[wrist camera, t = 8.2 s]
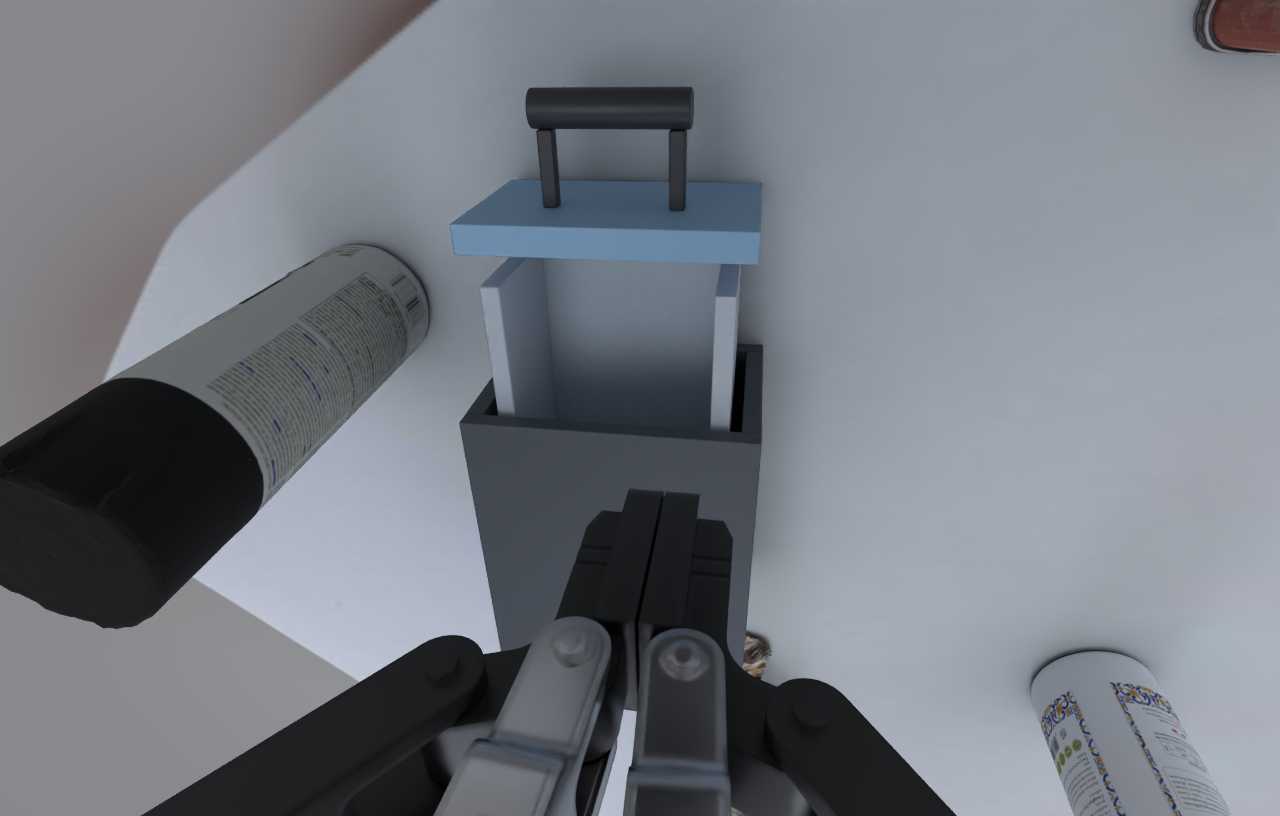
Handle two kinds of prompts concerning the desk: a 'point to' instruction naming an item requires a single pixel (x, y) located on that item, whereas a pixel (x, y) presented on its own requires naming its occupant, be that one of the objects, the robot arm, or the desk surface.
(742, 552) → the dark grey open box
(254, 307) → the spray can
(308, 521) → the desk surface
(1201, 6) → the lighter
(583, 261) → the blue drawer
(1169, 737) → the bath foam
